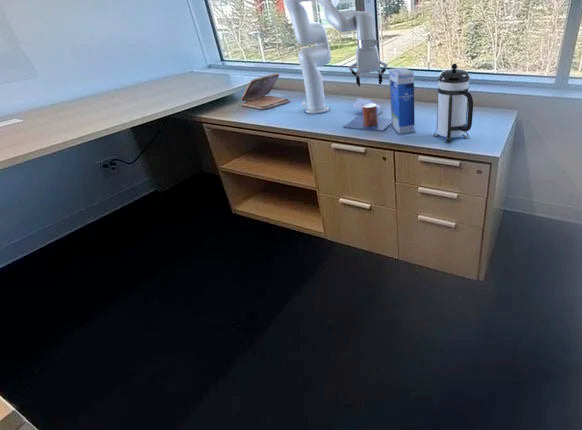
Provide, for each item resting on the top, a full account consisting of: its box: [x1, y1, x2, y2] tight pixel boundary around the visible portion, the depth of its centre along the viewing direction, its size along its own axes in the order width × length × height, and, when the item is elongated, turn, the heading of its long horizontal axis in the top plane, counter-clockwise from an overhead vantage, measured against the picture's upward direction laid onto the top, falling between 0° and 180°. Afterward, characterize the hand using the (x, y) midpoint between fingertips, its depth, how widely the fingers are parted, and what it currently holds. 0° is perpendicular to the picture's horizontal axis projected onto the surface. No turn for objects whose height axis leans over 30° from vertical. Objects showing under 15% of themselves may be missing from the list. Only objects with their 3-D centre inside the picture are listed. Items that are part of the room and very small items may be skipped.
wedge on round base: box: [352, 97, 381, 116], centre depth 197 cm, size 9×7×13 cm
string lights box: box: [388, 66, 416, 135], centre depth 168 cm, size 13×8×26 cm, turn 17°
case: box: [240, 73, 290, 110], centre depth 217 cm, size 20×21×16 cm
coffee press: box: [433, 63, 474, 143], centre depth 155 cm, size 17×16×30 cm
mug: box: [361, 103, 379, 127], centre depth 178 cm, size 10×7×9 cm
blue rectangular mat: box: [343, 116, 392, 132], centre depth 183 cm, size 20×16×1 cm
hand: (369, 84), depth 172 cm, fingers open, 9 cm apart
